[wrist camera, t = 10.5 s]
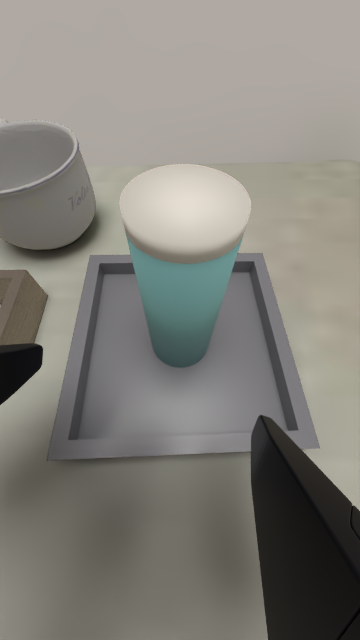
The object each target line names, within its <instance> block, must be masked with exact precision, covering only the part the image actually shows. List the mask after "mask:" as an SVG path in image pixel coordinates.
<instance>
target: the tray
mask: <svg viewBox="0 0 360 640" xmlns="http://www.w3.org/2000/svg"><path fill="white" fill-rule="evenodd" d="M259 415H264V416H267V417H270V418H272V419H273V420H274V421H275V422H276V424H277V425H278V426H279V427H280V428H281V429H282V430H283V431H284V432H285V433H286V434H287V435H288V436H289V437H290V438H291V439H292V440H293V441H294V442H295V444H296V445H297V446H298V447H299V448H300V449H315V448H320V446H319V443H318V440H317V436H316V433H315V429H314V426H313V423H312V419H311V416H310V412H309V409H308V406H307V402H306V399H305V396H304V392H303V389H302V385H301V382H300V379H299V375H298V372H297V368H296V365H295V362H294V358H293V355H292V352H291V348H290V345H289V341H288V338H287V335H286V331H285V328H284V325H283V321H282V318H281V314H280V311H279V308H278V304H277V301H276V297H275V294H274V291H273V287H272V284H271V281H270V277H269V274H268V270H267V267H266V264H265V260H264V257H263V253H237V257H236V260H235V263H234V266H233V269H232V272H231V276H230V279H229V282H228V285H227V288H226V291H225V295H224V298H223V301H222V304H221V307H220V311H219V314H218V317H217V320H216V323H215V326H214V330H213V333H212V336H211V339H210V342H209V346H208V349H207V351H206V353H205V355H204V356H203V358H202V359H201V360H200V361H198V362H197V363H195V364H194V365H191V366H188V367H182V368H178V367H173V366H169V365H167V364H165V363H164V362H162V361H161V360H160V359H159V358H158V357H157V356H156V354H155V352H154V350H153V347H152V343H151V338H150V334H149V330H148V326H147V321H146V317H145V313H144V308H143V304H142V300H141V296H140V291H139V287H138V283H137V279H136V274H135V270H134V266H133V262H132V257H131V255H90V258H89V262H88V267H87V272H86V276H85V281H84V286H83V291H82V295H81V300H80V305H79V310H78V314H77V319H76V324H75V329H74V333H73V338H72V343H71V347H70V352H69V357H68V362H67V366H66V371H65V376H64V381H63V385H62V390H61V395H60V399H59V404H58V409H57V414H56V418H55V423H54V428H53V433H52V437H51V442H50V447H49V452H48V456H47V461H49V460H71V459H93V458H115V457H138V456H160V455H182V454H204V453H226V452H248V451H251V434H252V431H253V429H254V426H255V423H256V421H257V418H258V416H259Z"/></svg>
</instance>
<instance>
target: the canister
mask: <svg viewBox="0 0 360 640" xmlns="http://www.w3.org/2000/svg"><path fill="white" fill-rule="evenodd" d="M119 202H120V210H121V215H122V219H123V223H124V227H125V232H126V236H127V240H128V244H129V249H130V253H131V257H132V262H133V266H134V270H135V274H136V279H137V283H138V287H139V291H140V296H141V300H142V304H143V308H144V313H145V317H146V321H147V326H148V330H149V334H150V338H151V343H152V347H153V350H154V352H155V354H156V356H157V357H158V358H159V359H160V360H161V361H162V362H164V363H165V364H167V365H169V366H173V367H178V368H182V367H188V366H191V365H194V364H195V363H197V362H198V361H200V360H201V359H202V358H203V356H204V355H205V353H206V351H207V349H208V346H209V342H210V339H211V336H212V333H213V330H214V326H215V323H216V320H217V317H218V314H219V311H220V307H221V304H222V301H223V298H224V295H225V291H226V288H227V285H228V282H229V279H230V276H231V272H232V269H233V266H234V263H235V260H236V257H237V253H238V250H239V247H240V244H241V241H242V237H243V234H244V231H245V228H246V225H247V222H248V218H249V215H250V211H251V201H250V197H249V195H248V193H247V191H246V190H245V188H244V187H243V186H242V185H241V184H240V183H239V182H238V181H237V180H236V179H234V178H233V177H231V176H230V175H228V174H226V173H224V172H221V171H219V170H216V169H213V168H210V167H205V166H200V165H192V164H173V165H166V166H161V167H157V168H153V169H151V170H148V171H145V172H143V173H141V174H140V175H138V176H136V177H135V178H134V179H132V180H131V181H130V182H129V183H128V184H127V185H126V186H125V188H124V189H123V191H122V193H121V196H120V201H119Z"/></svg>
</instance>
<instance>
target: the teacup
mask: <svg viewBox="0 0 360 640" xmlns="http://www.w3.org/2000/svg"><path fill="white" fill-rule="evenodd" d="M95 207H96V204H95V196H94V192H93V188H92V185H91V181H90V178H89V175H88V172H87V169H86V166H85V164H84V161H83V158H82V156H81V153H80V150H79V143H78V140H77V138H76V136H75V134H74V133H73V132H72V131H71V130H69V129H68V128H67V127H65V126H63V125H61V124H58V123H55V122H49V121H42V120H24V121H16V122H7V120H6V119H4V118H0V237H1V238H2V239H4V240H6V241H7V242H9V243H11V244H13V245H16V246H18V247H22V248H26V249H37V250H40V249H56V248H60V247H63V246H66V245H68V244H70V243H72V242H73V241H75V240H76V239H78V238H79V237H80V236H81V235H82V234H83V232H84V231H85V230H86V229H87V228H88V226H89V225H90V224H91V222H92V220H93V217H94V214H95Z"/></svg>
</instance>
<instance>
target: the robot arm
mask: <svg viewBox="0 0 360 640" xmlns="http://www.w3.org/2000/svg"><path fill="white" fill-rule="evenodd" d="M42 357H43V348H42V346H41V345H38V344H35V343H24V344H10V345H0V405H1V404H2V403H3V402H5V401H6V400H7V399H8V398H9V397H11V396H12V395H13V394H14V393H15V392H16V391H17V390H18V389H19V388H20V387H21V386H22V385H23V384H24V383H25V382H27V381H28V380H29V379H30V378H31V377H32V376H33V375H34V374H35V373H36V372H37V371H38V370H39V369H40V368H41V365H42ZM251 487H252V496H253V505H254V515H255V524H256V533H257V542H258V551H259V560H260V569H261V578H262V587H263V597H264V606H265V615H266V624H267V633H268V640H360V511H359V510H358V509H357V508H356V507H355V506H352V503H351V502H350V501H349V499H348V498H347V497H346V496H345V495H344V494H343V493H342V492H341V491H340V490H339V489H338V488H337V487H336V486H335V485H334V484H333V483H332V482H331V480H330V479H329V478H328V477H327V476H326V475H325V474H324V473H323V472H322V471H321V470H320V469H319V468H318V467H317V466H316V465H315V464H314V463H313V461H312V460H311V459H310V458H309V457H308V456H307V455H306V454H305V453H304V452H303V451H302V450H301V449H300V448H299V447H298V446H297V445H296V444H295V442H294V441H293V440H292V439H291V438H290V437H289V436H288V435H287V434H286V433H285V432H284V431H283V430H282V429H281V428H280V427H279V426H278V425H277V424H276V422H275V421H274V420H273V419H272V418H270V417H267V416H264V415H259V416H258V418H257V421H256V423H255V426H254V429H253V431H252V434H251Z"/></svg>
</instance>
